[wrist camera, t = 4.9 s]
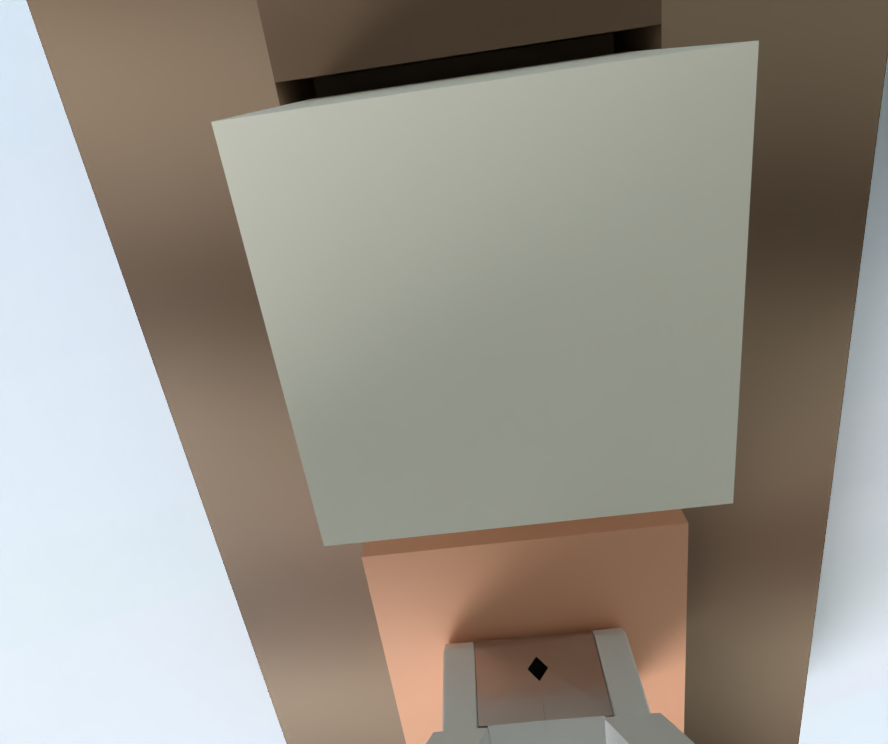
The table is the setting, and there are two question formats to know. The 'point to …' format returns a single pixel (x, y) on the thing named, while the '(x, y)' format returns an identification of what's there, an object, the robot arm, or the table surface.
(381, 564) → the terracotta key
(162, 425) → the table surface
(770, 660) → the board
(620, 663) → the robot arm
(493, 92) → the cream key
